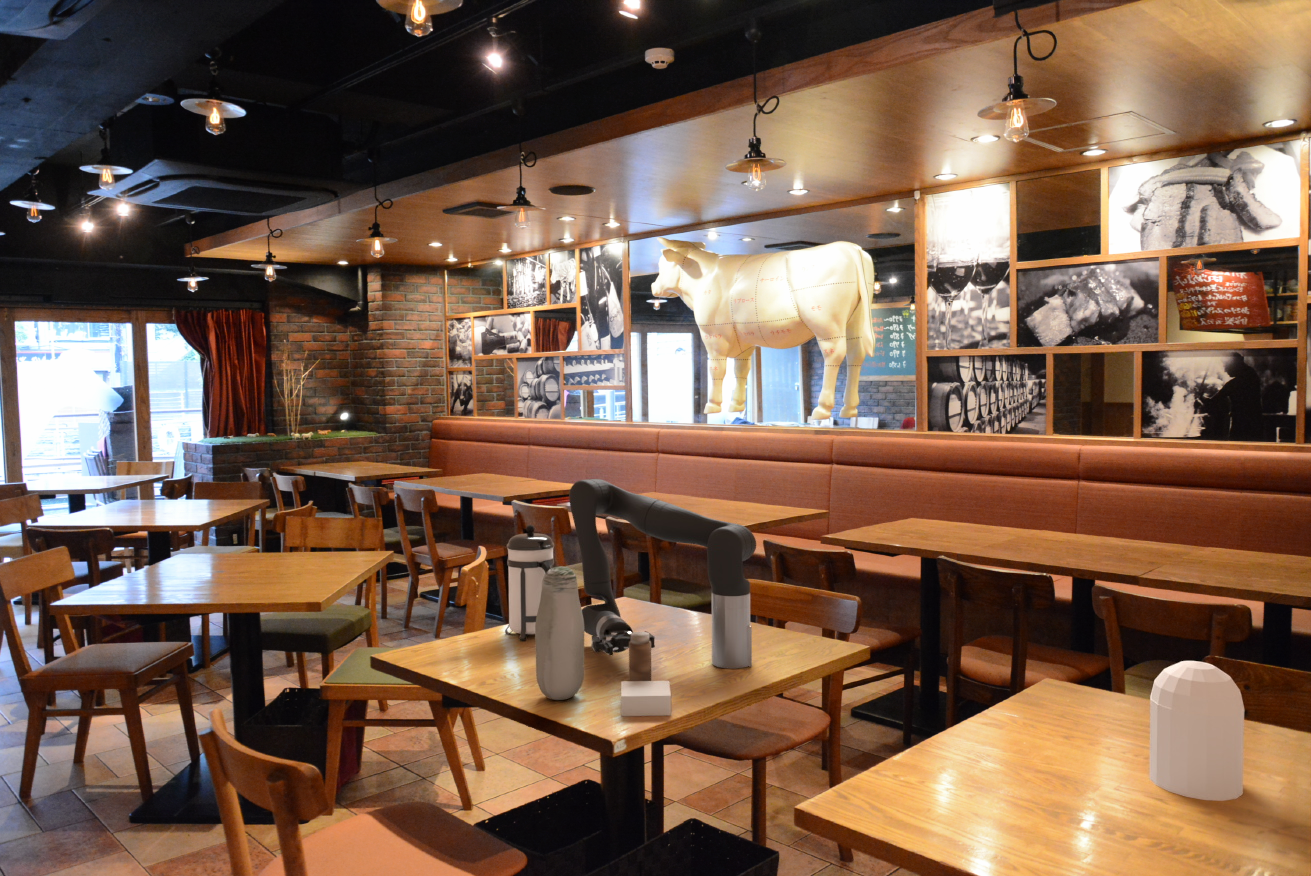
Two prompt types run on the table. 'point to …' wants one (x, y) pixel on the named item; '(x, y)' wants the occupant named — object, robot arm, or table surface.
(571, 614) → the grey vase
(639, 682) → the riser block
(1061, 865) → the table surface
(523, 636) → the coffee press
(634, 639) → the pepper mill
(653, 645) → the robot arm
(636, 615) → the table surface
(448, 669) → the table surface
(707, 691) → the table surface
